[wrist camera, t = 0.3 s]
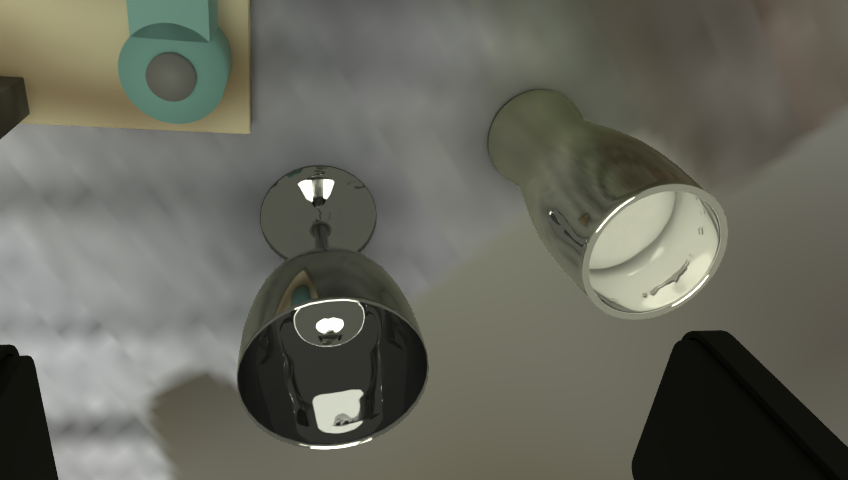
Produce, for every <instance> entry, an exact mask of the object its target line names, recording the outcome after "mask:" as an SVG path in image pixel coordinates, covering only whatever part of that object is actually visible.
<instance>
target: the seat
mask: <svg viewBox="0 0 848 480" xmlns="http://www.w3.org/2000/svg"><path fill="white" fill-rule="evenodd" d="M218 26H219V28H220V29H221V30H222V31H223V33H224V34H225V36H226V38H227V40H228V42H229V45H230V48H231V53H232V66H231V71H230V74H229V77H228V80H227V83H226V86H225V90H224V93H223V96H222V98H221V100H220V102H219V104H218V105H217V107H216V108H215V109H214V110H213V111H212V112H211V113H210V114H208V115H207V116H206V117H204V118H202V119H200V120H198V121H195V122H191V123H185V124H172V123H166V122H162V121H159V120H156V119H154V118H152V117H150V116H148V115H147V114H145V113H143V112H142V111H141V110H140V109H138V108H137V107H136V106H135V105H134V104H133V103H132V102H131V100H130V99H129V98H128V96H127V95H126V93H125V91H124V89H123V87H122V85H121V82H120V79H119V74H118V59H119V55H120V51H121V49H122V47H123V45H124V43H125V42H126V40H127V39H128V38H129V37H130V34H129V24H128V14H127V3H126V0H0V139H1V138H2V137H3V136H5V135H6V134H7V133H8V132H9V131H10V130H12V129H13V128H14V127H15V126H16V125H17V124H19V123H29V124H50V125H71V126H92V127H112V128H133V129H154V130H175V131H195V132H216V133H237V134H250V130H251V123H252V109H251V18H250V0H218Z"/></svg>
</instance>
